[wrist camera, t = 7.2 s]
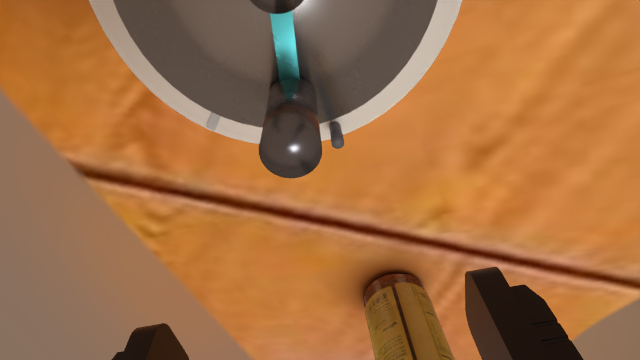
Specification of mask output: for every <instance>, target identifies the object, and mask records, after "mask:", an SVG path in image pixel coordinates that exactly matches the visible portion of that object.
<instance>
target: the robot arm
mask: <svg viewBox="0 0 640 360" xmlns="http://www.w3.org/2000/svg"><path fill="white" fill-rule="evenodd" d="M465 308H466V317H467V321H468V325H469V328H470V331H471V334H472V336H473V339H474V341H475V343H476V346H477V348H478V351H479V353H480V355H481V358H482V360H583V358H582V357H581V355H580V354H579V352H578V351H577V349H576V347H575V346H574V344H573V343H572V341H571V340H569V339H568V335H567V334H566V332H565V331H564V329H563V328H562V326H561V325H560V324H559V323H558V322H557V319H556V317H555V316H554V314H553V312H552V311H551V309H550V308H549V306H548V305H547V303H546V302H545V300H544V299H542V298H541V297H540V296H539V295H537V294H536V293H535V292H533V291H532V290H531V289H530V288H528V287H527V286H526V285H519V286H513V287H510V286H509V285H508V283H507V281H506V279H505V278H504V276H503V274H502V273H501V271H500V270H499V269H498V268H497V267H491V268H485V269H479V270H474V271H468V272H466V274H465ZM112 360H189V358H188V356H187V354H186V352H185V351H184V349H183V347H182V346H181V344H180V343H179V341H178V340H177V338H176V337H175V335H174V333H173V332H172V330H171V329H170V327H169V326H168V325H167V324H164V323H163V324H158V325H152V326H146V327H140V328H136V329H135V330H134V331H133V332H132V334H131V336H130V338H129V340H128V343H127V345H126V348H125V350H124V351H123V352H118V353H117V354H116V355H115V356H114V358H113V359H112Z"/></svg>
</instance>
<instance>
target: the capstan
mask: <svg viewBox="0 0 640 360" xmlns="http://www.w3.org/2000/svg"><path fill="white" fill-rule="evenodd" d="M113 1H114V4H115V6H116V9H117V12H118V14H119V16H120V18H121V20H122V22H123V23H124V25H125V27H126V29H127V31H128V33H129V35H130V36H131V38H132V39H133V41H134V42H135V44H136V45H137V47H138V48H139V50H140V51H141V53H142V54H143V55H144V57H145V58H146V59H147V60H148V61H149V63H150V64H151V65H152V66H153V67H154V69H155V70H156V71H157V72H158V73H159V74H160V75H161V76H162V77H163V78H164V79H165V80H166V81H167V82H168V83H170V84H171V85H172V86H173V87H174V88H175V89H177V90H178V91H179V92H180V93H182V94H183V95H184V96H186V97H187V98H188V99H190V100H191V101H193V102H195V103H196V104H198V105H200V106H201V107H203V108H205V109H206V110H208V111H211V112H213V113H215V114H217V115H219V116H221V117H224V118H227V119H230V120H233V121H236V122H239V123H242V124H246V125H251V126H256V127H263V129H262V134H261V139H260V145H259V155H260V159H261V161H262V163H263V164H264V166H265V167H266V168H267V169H268V170H269V171H270V172H272V173H273V174H275V175H278V176H280V177H284V178H298V177H302V176H304V175H306V174H308V173H310V172H311V171H313V170H314V169H315V168H316V166H317V165H318V163H319V161H320V159H321V156H322V145H321V135H320V126H319V124H321V123H324V122H328V121H331V120H334V119H336V118H338V117H341V116H343V115H346V114H348V113H350V112H352V111H353V110H355V109H357V108H359V107H360V106H362V105H364V104H365V103H367V102H368V101H369V100H371V99H372V98H373V97H375V96H376V95H377V94H379V93H380V92H381V91H382V90H383V89H384V88H385V87H386V86H387V85H389V84H390V83H391V82H392V81H393V80H394V79H395V78H396V76H397V75H398V74H399V73H400V72H401V70H402V69H403V68H404V67H405V66H406V64H407V63H408V61H409V60H410V58H411V57H412V55H413V54H414V52H415V51H416V49H417V48H418V46H419V44H420V42H421V40H422V38H423V36H424V34H425V32H426V30H427V28H428V26H429V24H430V21H431V18H432V16H433V13H434V10H435V8H436V5H437V1H438V0H113Z"/></svg>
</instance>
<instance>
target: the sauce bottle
mask: <svg viewBox="0 0 640 360" xmlns="http://www.w3.org/2000/svg"><path fill="white" fill-rule="evenodd" d="M364 306H365V316H366V320H367V324H368V329H369V333H370V337H371V342H372V347H373V351H374V356H375V360H454V357H453V355H452V352H451V350H450V347H449V345H448V343H447V340H446V338H445V335H444V333H443V330H442V328H441V325H440V323H439V320H438V318H437V315H436V313H435V310H434V308H433V305H432V303H431V300H430V298H429V296H428V294H427V292H426V291H425V289H424V288H423V286H422V285H421V283H420V282H419V281H418V280H417V279H416V278H415V277H413V276H411V275H410V274H387V275H384V276H382V277H379V278H378V279H376V280H375V281H373V282H372V283H371V284H370V285H369V286H368V287H367V289H366V291H365V295H364Z"/></svg>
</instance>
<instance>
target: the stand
mask: <svg viewBox="0 0 640 360" xmlns="http://www.w3.org/2000/svg"><path fill="white" fill-rule="evenodd" d="M89 2H90V4H91V7H92V9H93V11H94V13H95V15H96V17H97V19H98V21H99V23H100V25H101V27H102V29H103V31H104V33H105V34H106V36H107V37H108V39H109V40H110V42H111V44H112V45H113V47H114V48H115V50H116V51H117V53H118V54H119V56H120V57H121V58H122V59H123V61H124V62H125V63H126V64H127V66H128V67H129V68H130V69H131V71H132V72H133V73H134V74H135V76H136V77H137V78H138V79H139V80H140V81H141V82H142V83H143V84H144V85H145V86H146V87H147V88H148V89H149V90H150V91H151V92H152V93H154V94H155V95H156V96H157V97H158V98H160V99H161V100H162V101H163V102H165V103H166V104H167V105H168V106H169V107H171V108H172V109H174V110H175V111H177V112H178V113H180V114H181V115H183V116H185V117H186V118H188V119H189V120H191V121H193V122H195V123H197V124H199V125H201V126H203V127H205V128H207V129H209V130H211V131H214V132H216V133H219V134H222V135H224V136H227V137H230V138H234V139H238V140H242V141H246V142H250V143H257V144H260V139H261V134H262V129H263V127H256V126H251V125H246V124H242V123H239V122H236V121H233V120H230V119H227V118H224V117H221V116H219V115H217V114H215V113H213V112H211V111H208V110H206V109H205V108H203V107H201V106H200V105H198V104H196V103H195V102H193V101H191V100H190V99H188V98H187V97H186V96H184V95H183V94H182V93H180V92H179V91H178V90H177V89H175V88H174V87H173V86H172V85H171V84H170V83H168V82H167V81H166V80H165V79H164V78H163V77H162V76H161V75H160V74H159V73H158V72H157V71H156V70H155V69H154V67H153V66H152V65H151V64H150V63H149V61H148V60H147V59H146V58H145V57H144V55H143V54H142V53H141V51H140V50H139V48H138V47H137V45H136V44H135V42H134V41H133V39H132V38H131V36H130V35H129V33H128V31H127V29H126V27H125V25H124V23H123V22H122V20H121V18H120V16H119V14H118V12H117V9H116V6H115V4H114V1H113V0H89ZM461 3H462V0H438V1H437V5H436V8H435V10H434V13H433V16H432V18H431V21H430V24H429V26H428V28H427V30H426V32H425V34H424V36H423V38H422V40H421V42H420V44H419V46H418V48H417V49H416V51H415V52H414V54H413V55H412V57H411V58H410V60H409V61H408V63H407V64H406V66H405V67H404V68H403V69H402V70H401V72H400V73H399V74H398V75H397V76H396V78H395V79H394V80H393V81H392V82H391V83H390V84H389V85H387V86H386V87H385V88H384V89H383V90H382V91H381V92H380V93H379V94H377V95H376V96H375V97H373V98H372V99H371V100H369V101H368V102H367V103H365V104H364V105H362V106H360V107H359V108H357V109H355V110H353V111H352V112H350V113H348V114H346V115H343V116H341V117H338V118H336V119H334V120H331V121H328V122H324V123H321V124H319V126H320V135H321V141H324V140H329V139H331V142H332V146H333V147H334V148H336V149H339V148H341V147H343V145H344V139H343V135H344V134H346V133H349V132H351V131H354V130H356V129H358V128H360V127H362V126H364V125H366V124H368V123H370V122H371V121H373V120H374V119H376V118H377V117H379V116H380V115H382V114H383V113H385V112H386V111H388V110H389V109H390V108H391V107H393V106H394V105H395V104H396V103H397V102H399V101H400V100H401V99H402V98H403V97H404V96H405V95H406V94H407V93H408V92H409V91H410V90H411V89H412V88H413V87H414V86H415V85H416V84H417V83H418V82H419V81H420V79H421V78H422V77H423V75H424V74H425V73H426V71H427V70H428V69H429V68H430V66H431V65H432V64H433V62H434V60H435V59H436V57H437V55H438V54H439V52H440V50H441V49H442V47H443V45H444V44H445V42H446V40H447V38H448V36H449V34H450V31H451V29H452V27H453V25H454V23H455V20H456V18H457V15H458V12H459V9H460V6H461Z"/></svg>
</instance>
